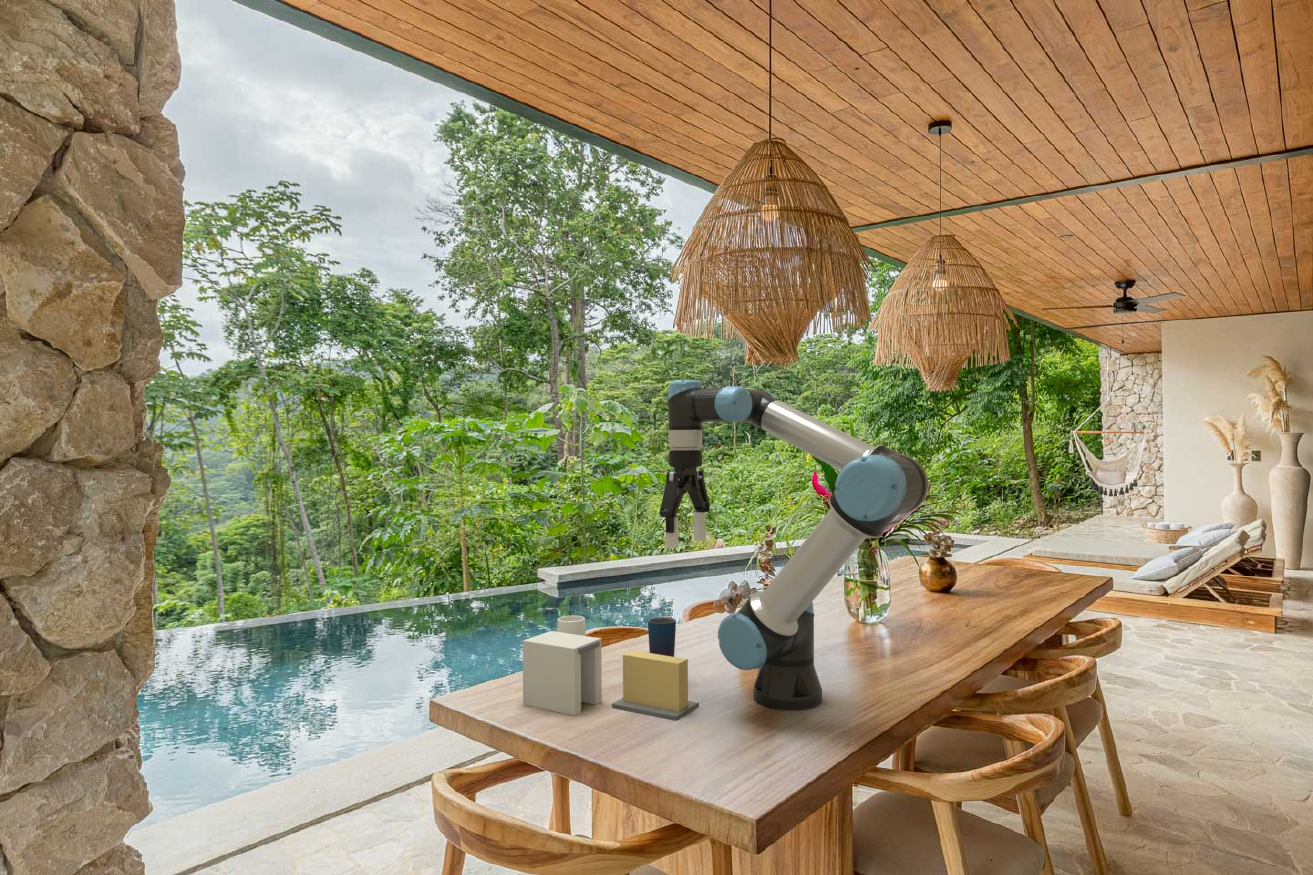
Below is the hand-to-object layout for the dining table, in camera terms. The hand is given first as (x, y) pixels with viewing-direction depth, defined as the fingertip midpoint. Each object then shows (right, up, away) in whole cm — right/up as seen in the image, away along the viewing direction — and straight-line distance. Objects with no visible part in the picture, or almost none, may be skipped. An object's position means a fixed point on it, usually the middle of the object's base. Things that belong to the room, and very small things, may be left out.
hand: (686, 544), depth 175 cm
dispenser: (-27, -35, -3) cm, 44 cm away
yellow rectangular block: (-7, -34, -6) cm, 35 cm away
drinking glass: (-27, -35, +13) cm, 46 cm away
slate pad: (-7, -34, -6) cm, 36 cm away
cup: (-5, -35, +11) cm, 37 cm away
